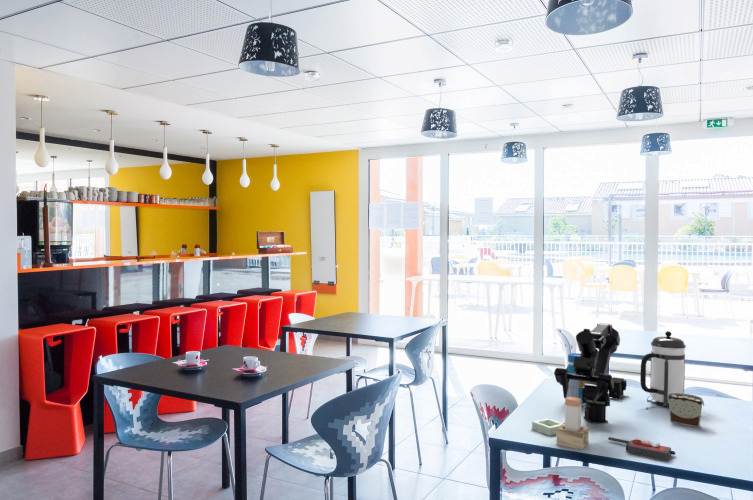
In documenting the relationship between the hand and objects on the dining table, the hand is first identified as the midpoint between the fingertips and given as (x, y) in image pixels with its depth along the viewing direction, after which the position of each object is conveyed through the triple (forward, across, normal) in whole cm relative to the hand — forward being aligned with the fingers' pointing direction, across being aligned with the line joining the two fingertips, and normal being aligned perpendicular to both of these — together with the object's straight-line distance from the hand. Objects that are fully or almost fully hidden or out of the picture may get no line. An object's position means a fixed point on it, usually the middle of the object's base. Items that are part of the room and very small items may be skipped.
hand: (578, 399), depth 189 cm
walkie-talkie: (+10, +19, +9) cm, 23 cm away
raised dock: (+13, 0, +5) cm, 14 cm away
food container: (-22, +28, +40) cm, 53 cm away
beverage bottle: (-23, -12, +41) cm, 48 cm away
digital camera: (-40, -1, +58) cm, 70 cm away
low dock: (+7, -10, +11) cm, 17 cm away
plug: (+11, 0, +2) cm, 11 cm away
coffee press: (-38, +18, +56) cm, 70 cm away
